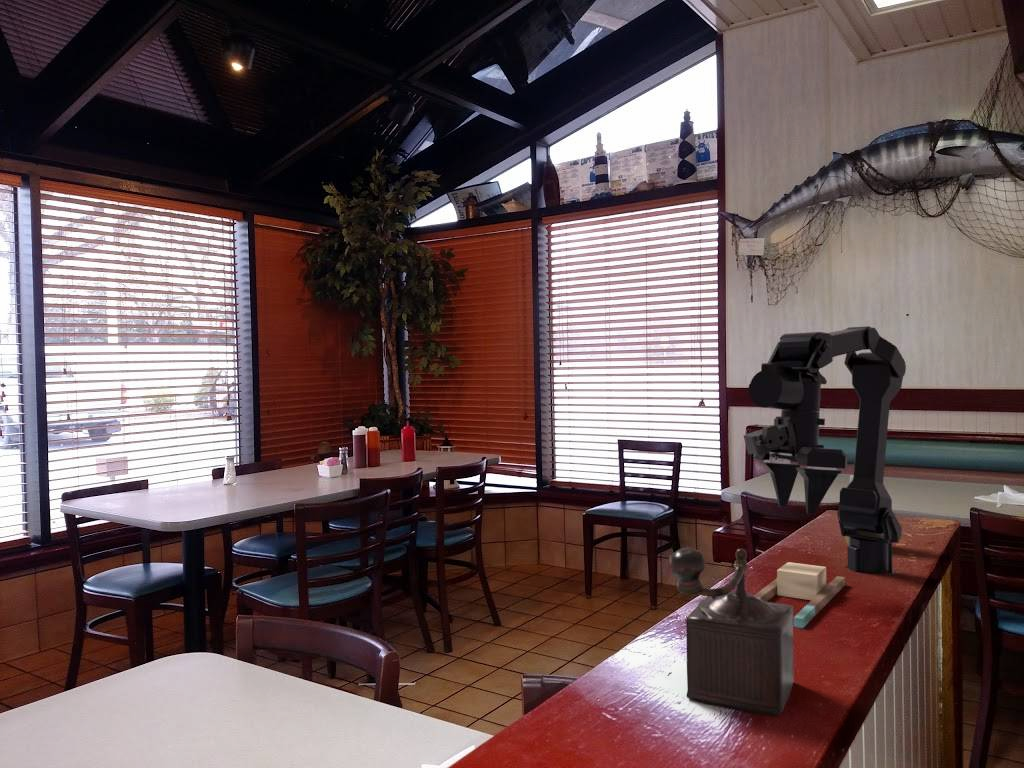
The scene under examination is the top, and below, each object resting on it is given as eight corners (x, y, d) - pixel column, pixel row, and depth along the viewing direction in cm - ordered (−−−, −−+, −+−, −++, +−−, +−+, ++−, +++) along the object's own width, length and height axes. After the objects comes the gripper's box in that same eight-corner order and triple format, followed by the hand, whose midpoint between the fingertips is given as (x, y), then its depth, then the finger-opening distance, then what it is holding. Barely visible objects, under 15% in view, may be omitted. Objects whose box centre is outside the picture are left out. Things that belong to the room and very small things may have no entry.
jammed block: (788, 586, 128) (788, 562, 128) (826, 591, 124) (826, 566, 124) (777, 595, 123) (776, 570, 123) (816, 601, 120) (816, 575, 120)
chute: (786, 580, 134) (785, 569, 134) (847, 589, 128) (847, 577, 128) (735, 620, 113) (735, 607, 113) (805, 633, 108) (805, 619, 107)
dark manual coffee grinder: (702, 666, 97) (700, 523, 96) (796, 682, 91) (794, 531, 91) (665, 717, 83) (662, 550, 83) (772, 739, 78) (769, 561, 77)
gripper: (728, 408, 131) (724, 501, 130) (778, 407, 112) (774, 515, 112) (790, 412, 132) (786, 504, 131) (851, 412, 114) (846, 519, 113)
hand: (796, 510), depth 122 cm, fingers open, 9 cm apart
